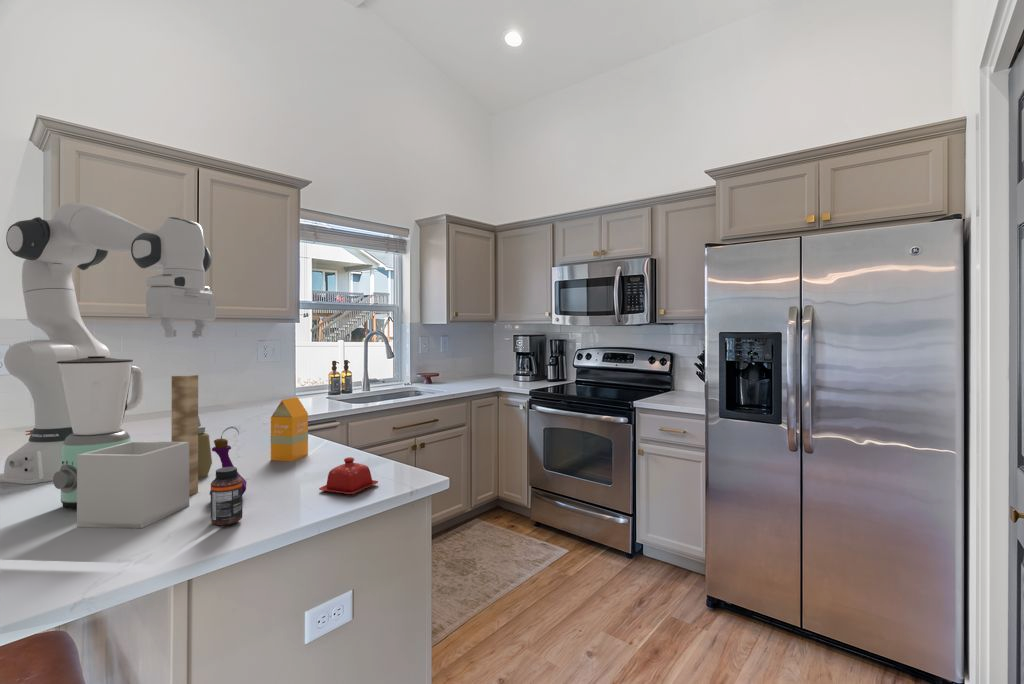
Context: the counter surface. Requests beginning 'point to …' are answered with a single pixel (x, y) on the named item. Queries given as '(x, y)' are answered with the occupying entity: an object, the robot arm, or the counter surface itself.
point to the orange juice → (289, 431)
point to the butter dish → (349, 478)
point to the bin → (132, 484)
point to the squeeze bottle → (203, 452)
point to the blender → (94, 411)
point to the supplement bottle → (226, 497)
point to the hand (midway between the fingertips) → (184, 337)
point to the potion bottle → (226, 455)
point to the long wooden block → (186, 421)
